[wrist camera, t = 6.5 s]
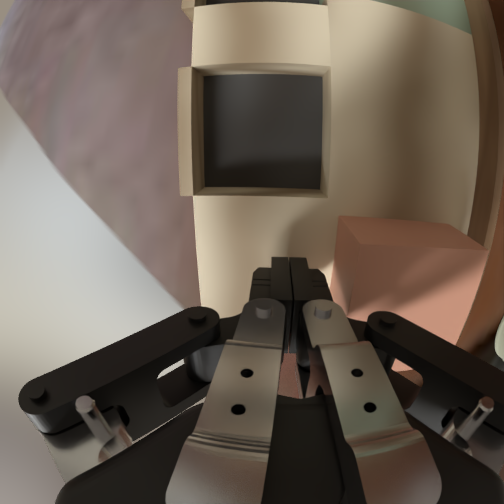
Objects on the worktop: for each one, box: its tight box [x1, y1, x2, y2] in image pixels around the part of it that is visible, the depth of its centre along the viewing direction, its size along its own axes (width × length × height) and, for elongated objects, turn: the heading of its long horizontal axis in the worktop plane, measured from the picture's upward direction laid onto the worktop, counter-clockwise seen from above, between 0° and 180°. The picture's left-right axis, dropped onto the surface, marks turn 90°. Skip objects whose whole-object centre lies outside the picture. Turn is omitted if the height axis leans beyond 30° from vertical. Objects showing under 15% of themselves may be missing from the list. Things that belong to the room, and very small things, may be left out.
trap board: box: [178, 0, 504, 338], centre depth 10 cm, size 15×24×4 cm, turn 0°
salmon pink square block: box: [330, 215, 489, 371], centre depth 11 cm, size 6×6×4 cm
